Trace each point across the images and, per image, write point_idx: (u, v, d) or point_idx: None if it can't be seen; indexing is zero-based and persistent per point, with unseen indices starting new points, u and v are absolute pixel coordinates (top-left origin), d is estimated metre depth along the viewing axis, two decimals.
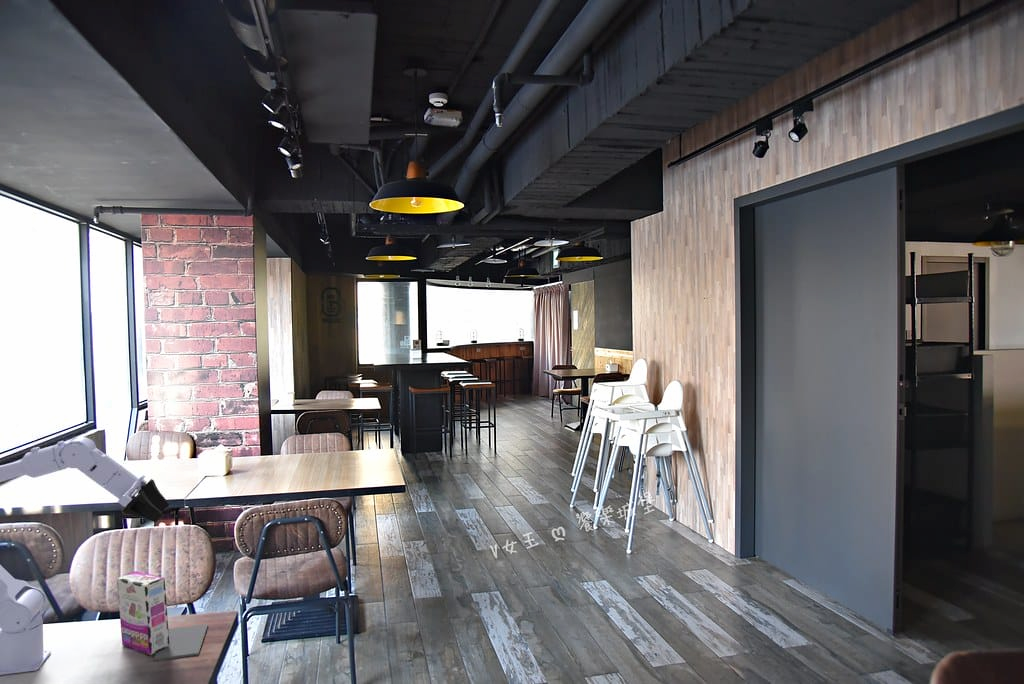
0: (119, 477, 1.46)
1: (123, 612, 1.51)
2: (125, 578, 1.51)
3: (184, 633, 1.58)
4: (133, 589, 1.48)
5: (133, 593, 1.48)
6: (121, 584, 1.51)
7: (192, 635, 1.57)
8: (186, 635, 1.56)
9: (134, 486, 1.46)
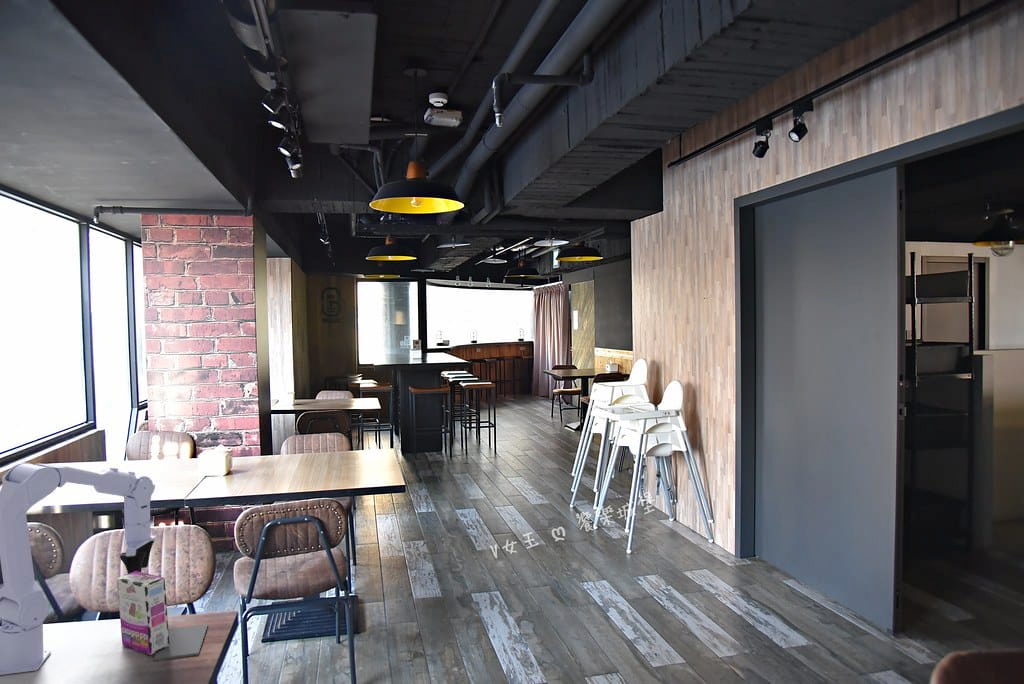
0: (142, 528, 1.65)
1: (123, 612, 1.51)
2: (125, 578, 1.51)
3: (184, 633, 1.58)
4: (133, 589, 1.48)
5: (133, 593, 1.48)
6: (121, 584, 1.51)
7: (192, 635, 1.57)
8: (186, 635, 1.56)
9: (144, 543, 1.65)
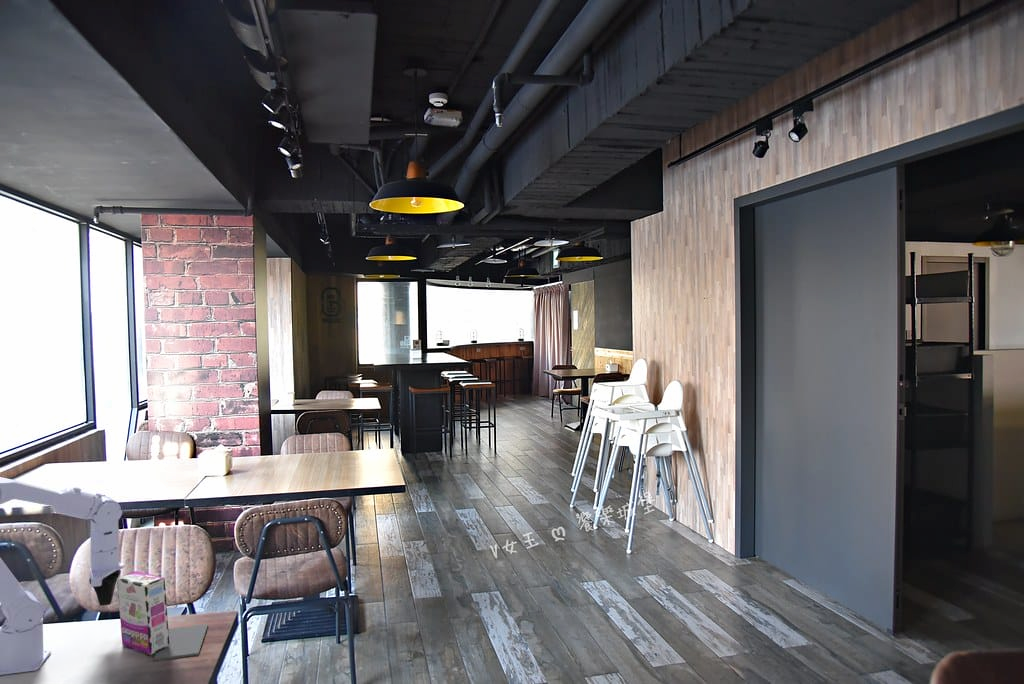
0: (109, 555, 1.53)
1: (123, 612, 1.51)
2: (125, 578, 1.51)
3: (184, 633, 1.58)
4: (133, 589, 1.48)
5: (133, 593, 1.48)
6: (121, 584, 1.51)
7: (192, 635, 1.57)
8: (186, 635, 1.56)
9: (111, 571, 1.53)
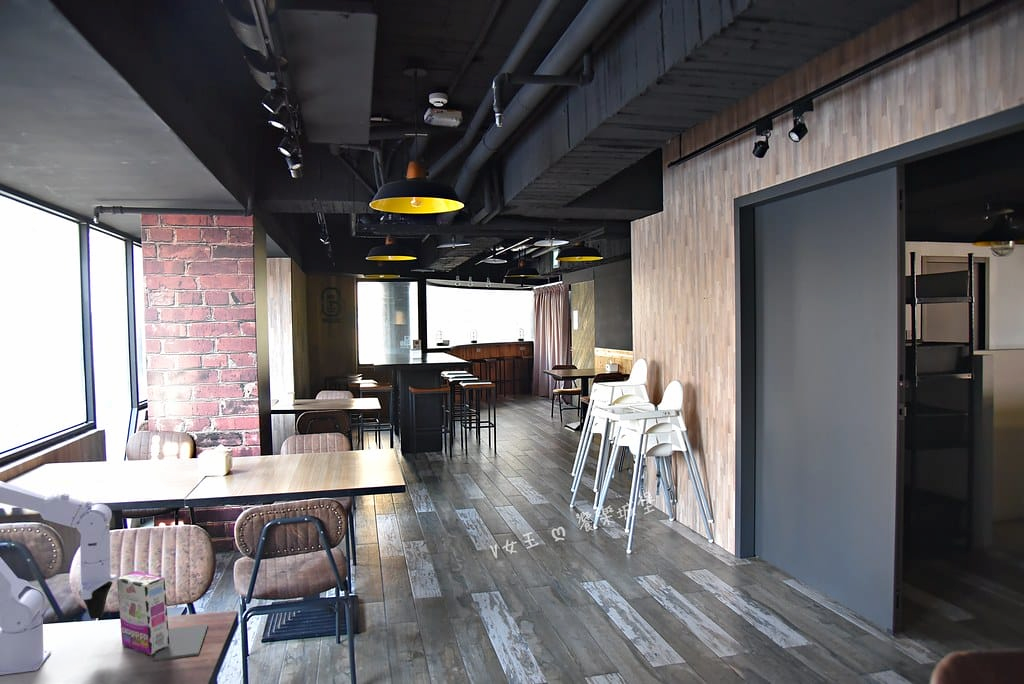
0: (100, 566, 1.46)
1: (123, 612, 1.51)
2: (125, 578, 1.51)
3: (184, 633, 1.58)
4: (133, 589, 1.48)
5: (133, 593, 1.48)
6: (121, 584, 1.51)
7: (192, 635, 1.57)
8: (186, 635, 1.56)
9: (102, 583, 1.46)
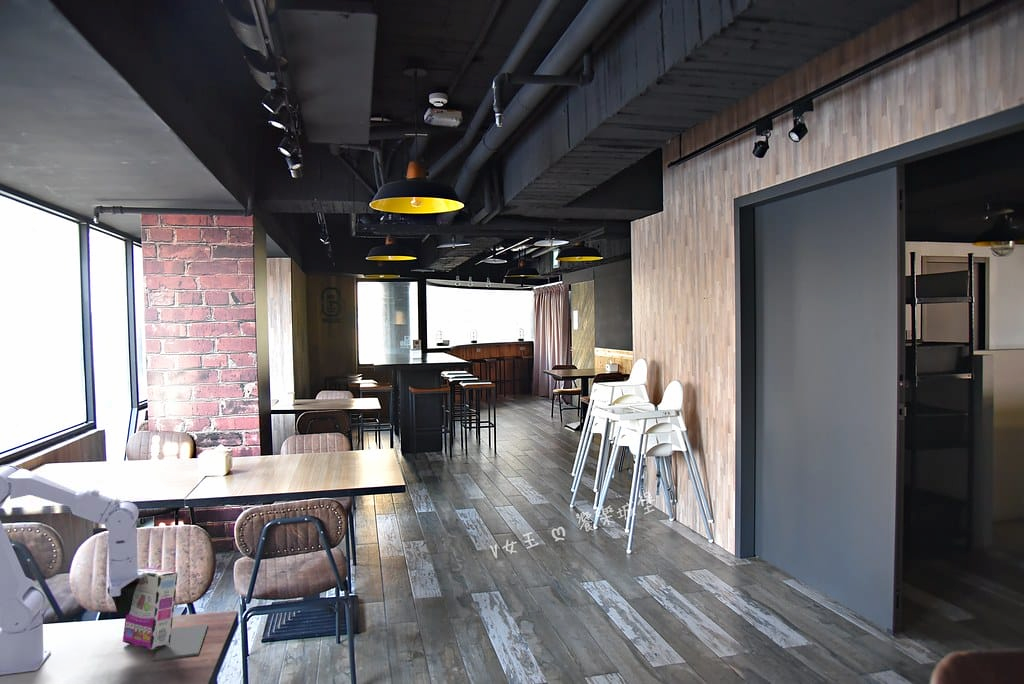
0: (128, 564, 1.48)
1: None
2: (139, 570, 1.54)
3: (184, 633, 1.58)
4: (146, 579, 1.52)
5: (146, 584, 1.51)
6: None
7: (192, 635, 1.57)
8: (186, 635, 1.56)
9: (130, 580, 1.47)
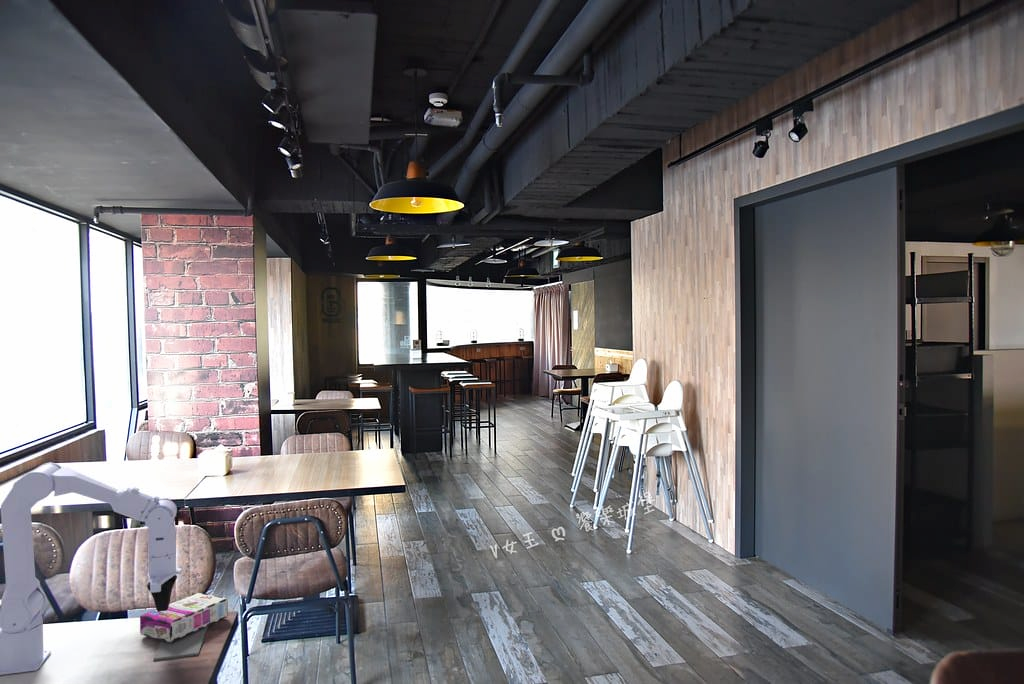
0: (167, 560, 1.50)
1: (175, 603, 1.63)
2: None
3: None
4: (210, 597, 1.67)
5: (207, 598, 1.66)
6: (198, 594, 1.69)
7: (192, 635, 1.57)
8: (186, 635, 1.56)
9: (169, 577, 1.50)
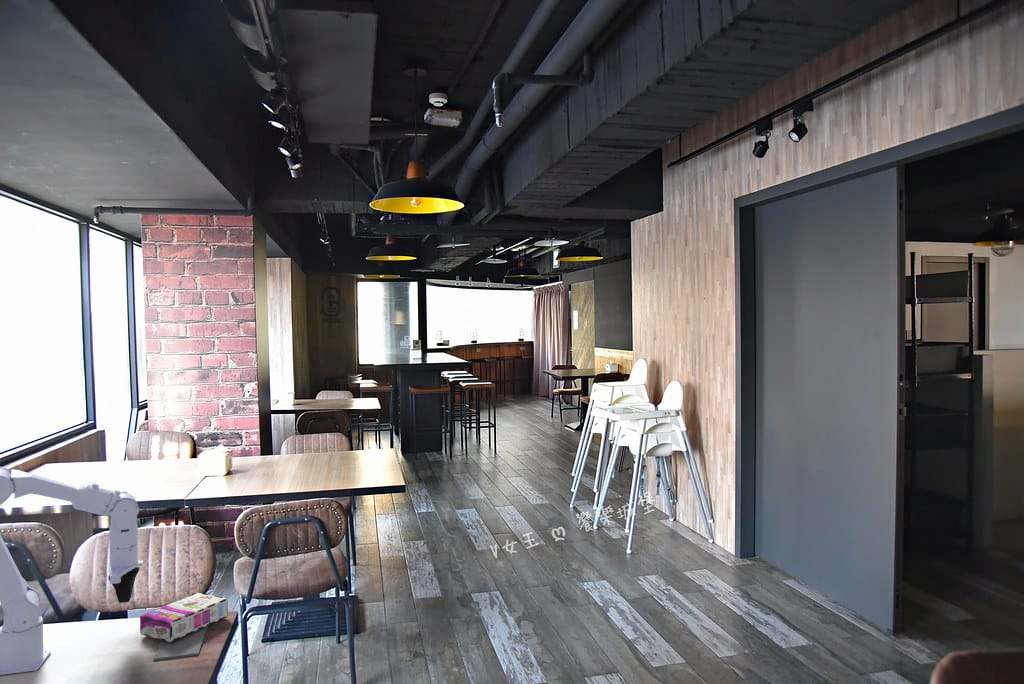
0: (128, 552, 1.52)
1: (175, 603, 1.63)
2: None
3: None
4: (210, 597, 1.67)
5: (207, 599, 1.66)
6: (198, 594, 1.69)
7: (192, 635, 1.57)
8: (186, 635, 1.56)
9: (130, 568, 1.52)
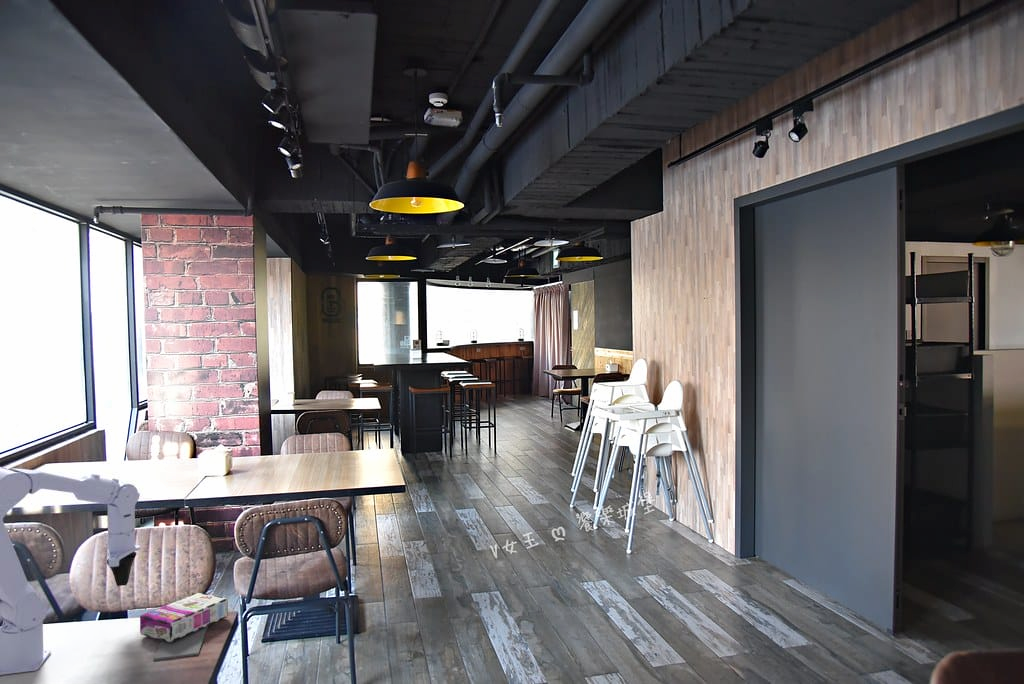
0: (126, 537, 1.59)
1: (175, 603, 1.63)
2: None
3: None
4: (210, 597, 1.67)
5: (207, 599, 1.66)
6: (198, 594, 1.69)
7: (192, 635, 1.57)
8: (186, 635, 1.56)
9: (128, 553, 1.59)
